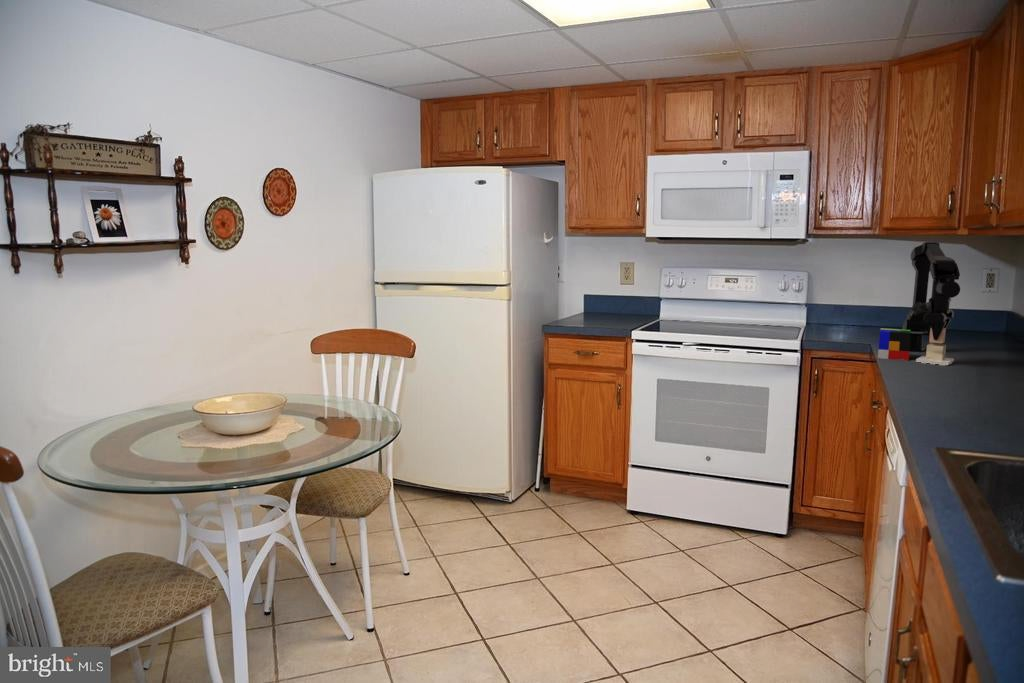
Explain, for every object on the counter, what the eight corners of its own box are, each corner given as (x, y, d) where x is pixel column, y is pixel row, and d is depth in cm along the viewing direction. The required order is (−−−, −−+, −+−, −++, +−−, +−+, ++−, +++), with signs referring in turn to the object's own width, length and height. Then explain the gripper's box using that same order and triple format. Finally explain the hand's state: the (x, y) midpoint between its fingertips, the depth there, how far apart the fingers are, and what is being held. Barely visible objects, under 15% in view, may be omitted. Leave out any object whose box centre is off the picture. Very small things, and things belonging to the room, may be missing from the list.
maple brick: (928, 357, 262) (930, 343, 261) (944, 358, 259) (946, 344, 258) (925, 359, 258) (927, 345, 258) (941, 360, 255) (943, 346, 254)
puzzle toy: (877, 358, 267) (879, 331, 266) (878, 354, 276) (880, 328, 275) (908, 360, 263) (910, 333, 261) (908, 356, 271) (910, 330, 270)
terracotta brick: (931, 340, 261) (933, 327, 260) (944, 342, 258) (945, 328, 257) (929, 342, 258) (930, 328, 257) (942, 343, 255) (943, 329, 254)
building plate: (922, 358, 266) (922, 355, 266) (953, 362, 259) (953, 358, 259) (915, 362, 258) (916, 359, 258) (948, 365, 252) (948, 362, 252)
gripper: (921, 292, 267) (917, 334, 270) (909, 295, 253) (905, 339, 256) (956, 294, 260) (951, 337, 263) (945, 297, 246) (941, 343, 249)
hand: (936, 339), depth 258 cm, fingers closed on terracotta brick, 4 cm apart
